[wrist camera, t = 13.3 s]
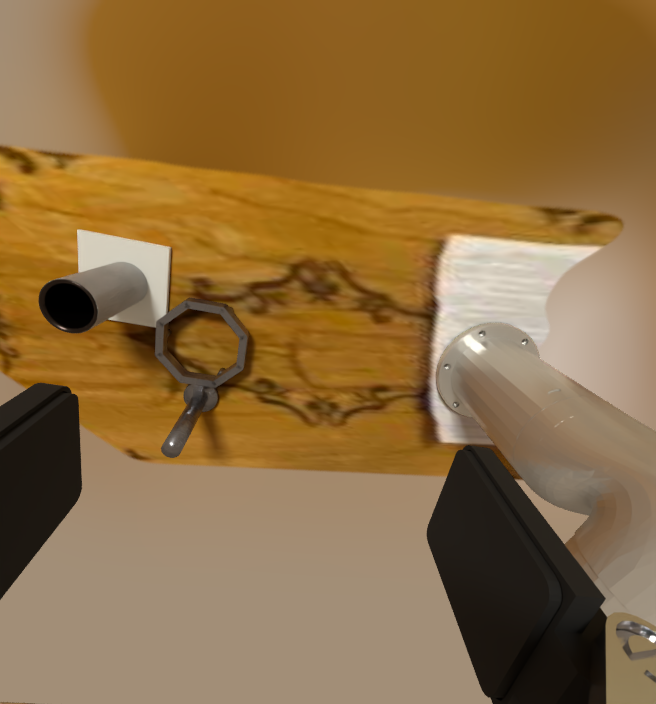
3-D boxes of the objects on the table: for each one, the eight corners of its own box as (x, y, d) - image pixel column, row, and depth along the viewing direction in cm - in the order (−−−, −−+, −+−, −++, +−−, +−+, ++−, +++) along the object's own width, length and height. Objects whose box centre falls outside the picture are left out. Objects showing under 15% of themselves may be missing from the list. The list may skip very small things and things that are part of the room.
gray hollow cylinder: (125, 311, 40) (69, 343, 31) (94, 277, 39) (25, 299, 29) (157, 288, 40) (109, 314, 30) (126, 252, 38) (66, 267, 28)
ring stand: (254, 306, 41) (236, 338, 31) (239, 414, 46) (220, 473, 36) (166, 290, 40) (118, 317, 30) (160, 403, 45) (118, 460, 35)
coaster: (171, 247, 39) (169, 247, 38) (167, 327, 42) (165, 329, 41) (80, 229, 38) (77, 229, 37) (83, 313, 41) (80, 314, 40)
